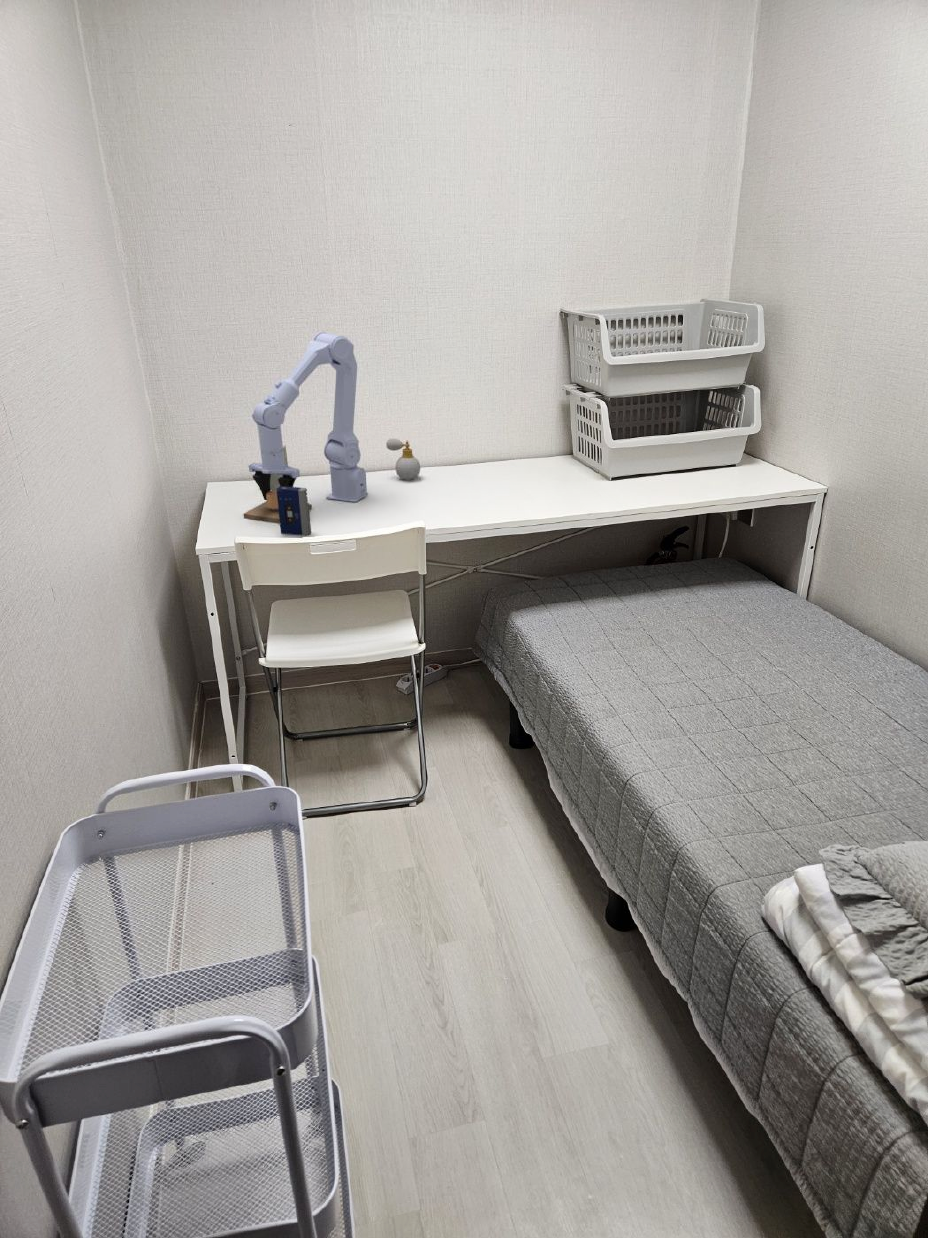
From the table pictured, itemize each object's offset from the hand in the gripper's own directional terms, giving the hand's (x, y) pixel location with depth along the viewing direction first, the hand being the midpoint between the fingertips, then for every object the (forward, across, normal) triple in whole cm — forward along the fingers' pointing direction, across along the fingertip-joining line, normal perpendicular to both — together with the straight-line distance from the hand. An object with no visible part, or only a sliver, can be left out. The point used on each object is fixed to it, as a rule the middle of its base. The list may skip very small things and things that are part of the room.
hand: (277, 500), depth 220 cm
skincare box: (+4, -13, +18) cm, 23 cm away
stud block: (+4, 0, 0) cm, 4 cm away
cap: (+1, 0, 0) cm, 1 cm away
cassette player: (+4, +12, -10) cm, 17 cm away
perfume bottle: (+4, +17, +41) cm, 44 cm away
